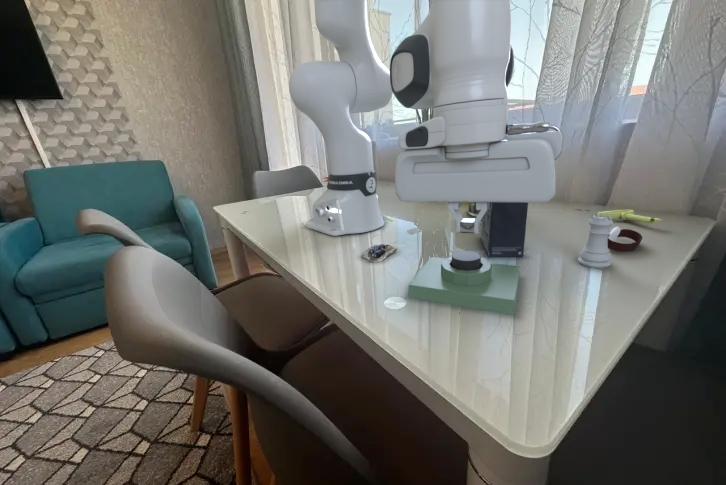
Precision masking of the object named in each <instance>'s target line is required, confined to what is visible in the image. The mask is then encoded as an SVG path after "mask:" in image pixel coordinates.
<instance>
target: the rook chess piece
mask: <svg viewBox="0 0 726 485" xmlns="http://www.w3.org/2000/svg"><path fill="white" fill-rule="evenodd" d="M606 217H607V215H605V214H603V217H600V214H597V213H596V214H591V217H590V219H588V220H587V223H588V224H589V225H590V228H589V229H588V230H587V231H588V238H587V241H586V244H585V246H583V249H581V250H580V252H579V254H578V255H579V257H578V258H577V259H578V262H579V263H580V264H581V265H582V266H584V267H587V268H592V269H606V268H608V267H610V266H611V265H612V261H611V260H612V258H613V257H612V254H611V253H610V249H609V248H608V234H609V233H610V231H611V230H610V227H612V226H613V225H614V224H615V223H614V221H613V220H612V219H611V218H612V217H611V216H610V215H609V216H608V218H606Z"/></svg>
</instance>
